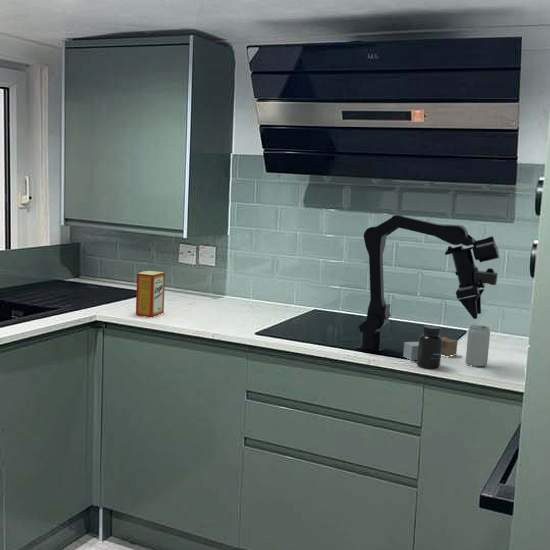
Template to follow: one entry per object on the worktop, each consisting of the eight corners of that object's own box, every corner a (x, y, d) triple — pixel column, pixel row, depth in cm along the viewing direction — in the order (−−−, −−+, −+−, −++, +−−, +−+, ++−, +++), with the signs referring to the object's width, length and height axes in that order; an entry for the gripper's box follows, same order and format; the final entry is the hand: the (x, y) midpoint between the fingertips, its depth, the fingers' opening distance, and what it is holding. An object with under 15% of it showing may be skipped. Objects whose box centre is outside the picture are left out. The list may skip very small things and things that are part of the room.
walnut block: (433, 354, 230) (435, 339, 230) (443, 352, 234) (444, 337, 233) (447, 357, 227) (448, 342, 226) (456, 355, 230) (457, 340, 229)
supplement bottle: (437, 370, 210) (441, 330, 208) (414, 367, 213) (417, 327, 211) (441, 365, 217) (445, 326, 215) (418, 362, 219) (422, 323, 217)
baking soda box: (148, 311, 273) (149, 269, 271) (163, 313, 271) (165, 271, 269) (135, 315, 265) (136, 272, 262) (151, 317, 263) (153, 274, 260)
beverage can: (486, 368, 215) (490, 329, 214) (464, 366, 217) (468, 327, 216) (487, 364, 221) (491, 325, 220) (465, 361, 223) (469, 323, 222)
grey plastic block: (403, 357, 224) (404, 342, 223) (417, 357, 225) (418, 341, 224) (410, 362, 219) (411, 346, 218) (425, 361, 220) (426, 345, 220)
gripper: (488, 262, 205) (501, 315, 205) (495, 257, 222) (507, 306, 222) (449, 271, 209) (462, 323, 210) (459, 265, 227) (471, 313, 227)
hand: (477, 316), depth 217 cm, fingers open, 9 cm apart
